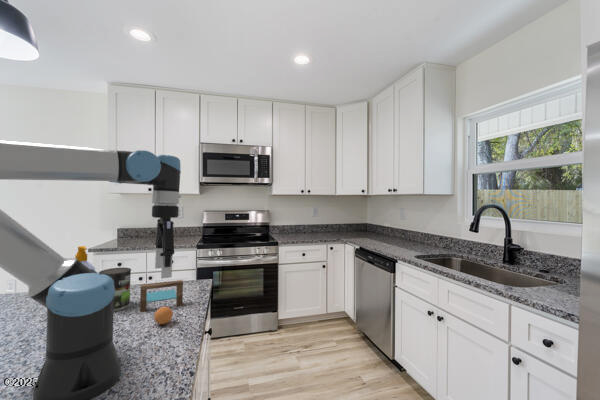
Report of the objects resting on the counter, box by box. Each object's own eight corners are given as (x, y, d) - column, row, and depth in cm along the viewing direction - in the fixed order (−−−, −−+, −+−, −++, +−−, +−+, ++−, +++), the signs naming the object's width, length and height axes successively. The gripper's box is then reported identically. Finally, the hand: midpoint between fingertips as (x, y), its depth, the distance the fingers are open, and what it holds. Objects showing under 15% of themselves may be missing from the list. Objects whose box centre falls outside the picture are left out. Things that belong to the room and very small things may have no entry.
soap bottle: (68, 317, 93) (70, 249, 93) (61, 310, 99) (63, 246, 99) (98, 310, 100) (100, 246, 100) (90, 303, 106) (92, 243, 106)
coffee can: (136, 302, 108) (136, 267, 108) (118, 312, 98) (119, 274, 98) (111, 301, 108) (111, 266, 109) (90, 312, 98) (91, 273, 98)
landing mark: (176, 297, 114) (176, 297, 114) (144, 302, 108) (144, 302, 108) (174, 289, 124) (174, 289, 124) (144, 293, 118) (144, 293, 118)
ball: (167, 327, 87) (167, 310, 87) (150, 327, 87) (151, 310, 87) (175, 320, 93) (175, 304, 93) (159, 319, 93) (160, 304, 93)
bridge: (182, 305, 106) (182, 281, 106) (140, 311, 99) (140, 287, 99) (181, 302, 109) (182, 279, 109) (140, 308, 102) (140, 284, 102)
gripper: (187, 206, 76) (184, 280, 76) (171, 204, 97) (169, 263, 96) (157, 205, 72) (154, 284, 71) (148, 204, 92) (145, 265, 92)
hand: (162, 272), depth 84 cm, fingers open, 13 cm apart
